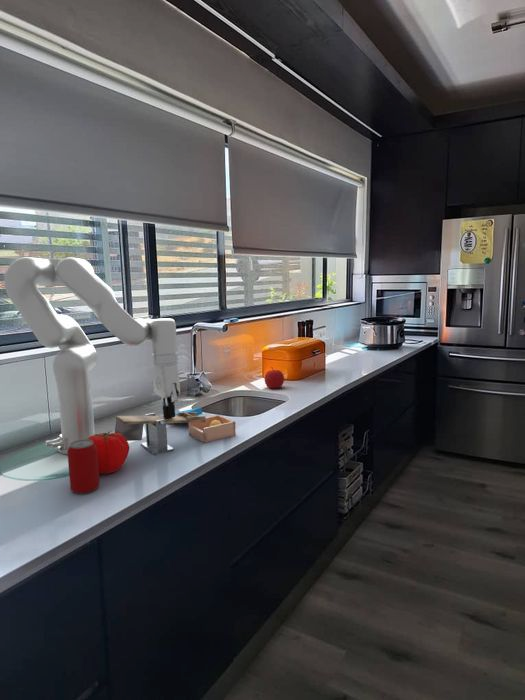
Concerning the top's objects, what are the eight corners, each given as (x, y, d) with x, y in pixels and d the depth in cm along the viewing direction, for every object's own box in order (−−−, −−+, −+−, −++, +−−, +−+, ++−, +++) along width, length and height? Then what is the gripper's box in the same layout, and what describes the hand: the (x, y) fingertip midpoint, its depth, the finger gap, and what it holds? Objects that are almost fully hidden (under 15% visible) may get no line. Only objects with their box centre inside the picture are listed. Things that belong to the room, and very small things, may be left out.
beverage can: (103, 483, 121) (99, 438, 119) (94, 495, 114) (91, 447, 112) (76, 484, 120) (72, 438, 119) (66, 496, 114) (62, 448, 112)
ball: (222, 434, 157) (212, 432, 154) (216, 431, 160) (206, 429, 157) (225, 422, 157) (215, 420, 154) (219, 419, 160) (209, 417, 158)
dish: (204, 442, 149) (204, 428, 148) (189, 434, 158) (188, 421, 157) (235, 434, 156) (235, 421, 155) (219, 427, 164) (218, 414, 164)
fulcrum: (155, 455, 139) (153, 422, 138) (141, 444, 148) (139, 414, 147) (173, 450, 143) (172, 419, 141) (158, 440, 152) (157, 411, 150)
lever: (122, 441, 135) (124, 417, 135) (114, 435, 141) (116, 412, 140) (203, 437, 151) (205, 416, 150) (193, 432, 156) (195, 411, 156)
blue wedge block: (164, 436, 171) (201, 430, 161) (159, 417, 171) (196, 410, 161) (177, 431, 176) (213, 424, 166) (173, 412, 176) (208, 405, 166)
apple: (273, 391, 215) (272, 369, 214) (260, 387, 222) (260, 367, 221) (288, 387, 221) (287, 366, 220) (275, 384, 228) (275, 364, 226)
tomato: (99, 484, 120) (96, 444, 119) (71, 473, 127) (67, 435, 126) (140, 466, 131) (138, 429, 129) (112, 457, 138) (109, 422, 136)
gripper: (144, 357, 148) (148, 414, 150) (164, 363, 136) (168, 425, 138) (166, 354, 152) (170, 410, 155) (187, 360, 140) (191, 420, 143)
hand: (169, 417), depth 147 cm, fingers closed
